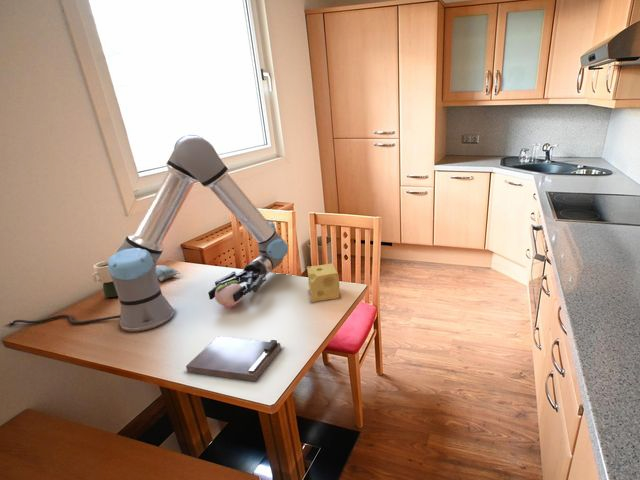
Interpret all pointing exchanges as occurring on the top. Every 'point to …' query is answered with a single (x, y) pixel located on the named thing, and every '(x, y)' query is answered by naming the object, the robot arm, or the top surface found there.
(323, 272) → the cheese
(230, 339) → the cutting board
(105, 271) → the character mug
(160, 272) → the packaged food
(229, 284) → the decorative fruit
